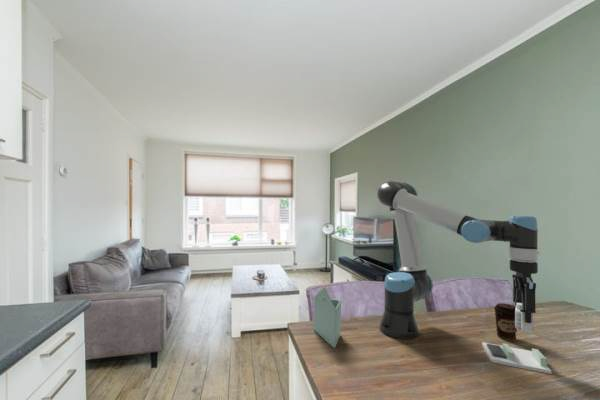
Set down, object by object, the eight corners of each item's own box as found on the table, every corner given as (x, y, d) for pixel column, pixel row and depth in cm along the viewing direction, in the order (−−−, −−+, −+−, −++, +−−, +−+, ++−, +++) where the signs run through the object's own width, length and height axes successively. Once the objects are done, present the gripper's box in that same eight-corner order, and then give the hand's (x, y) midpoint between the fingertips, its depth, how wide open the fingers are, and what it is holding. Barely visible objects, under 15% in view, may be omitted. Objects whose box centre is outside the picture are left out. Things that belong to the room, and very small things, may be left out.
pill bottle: (534, 333, 90) (533, 307, 91) (516, 330, 93) (515, 305, 93) (531, 328, 94) (531, 303, 95) (514, 325, 97) (514, 301, 97)
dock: (491, 362, 92) (491, 351, 92) (481, 344, 104) (481, 335, 104) (551, 374, 86) (551, 362, 86) (534, 354, 98) (534, 344, 98)
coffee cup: (525, 344, 106) (525, 310, 106) (500, 341, 107) (501, 308, 108) (512, 334, 114) (512, 303, 115) (490, 332, 116) (490, 301, 116)
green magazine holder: (351, 344, 102) (353, 290, 102) (333, 348, 98) (335, 292, 99) (329, 326, 117) (330, 280, 117) (313, 329, 113) (314, 281, 114)
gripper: (549, 265, 85) (549, 342, 84) (526, 257, 101) (526, 321, 100) (519, 263, 88) (519, 337, 87) (502, 255, 104) (502, 317, 103)
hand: (523, 328), depth 94 cm, fingers closed on pill bottle, 5 cm apart
